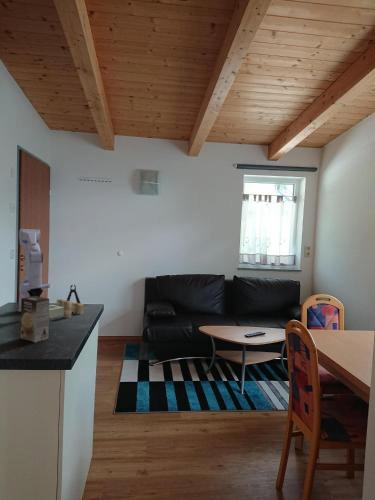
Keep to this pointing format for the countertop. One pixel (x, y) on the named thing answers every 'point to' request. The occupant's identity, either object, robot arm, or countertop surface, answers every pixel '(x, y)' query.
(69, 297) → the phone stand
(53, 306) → the socket block
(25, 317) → the coffee box
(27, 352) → the countertop surface
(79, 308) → the oak wall
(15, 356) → the countertop surface
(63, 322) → the countertop surface
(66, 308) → the dowel
